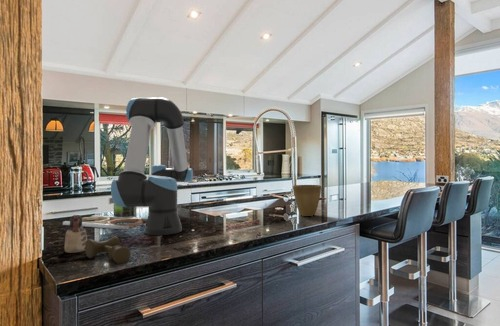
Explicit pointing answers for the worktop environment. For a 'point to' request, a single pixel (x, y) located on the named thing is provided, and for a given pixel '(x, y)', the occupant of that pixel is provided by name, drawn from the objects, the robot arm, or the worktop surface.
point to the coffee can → (124, 212)
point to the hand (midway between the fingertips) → (118, 201)
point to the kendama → (108, 249)
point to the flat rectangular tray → (103, 220)
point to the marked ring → (137, 221)
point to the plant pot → (307, 198)
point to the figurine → (75, 235)
